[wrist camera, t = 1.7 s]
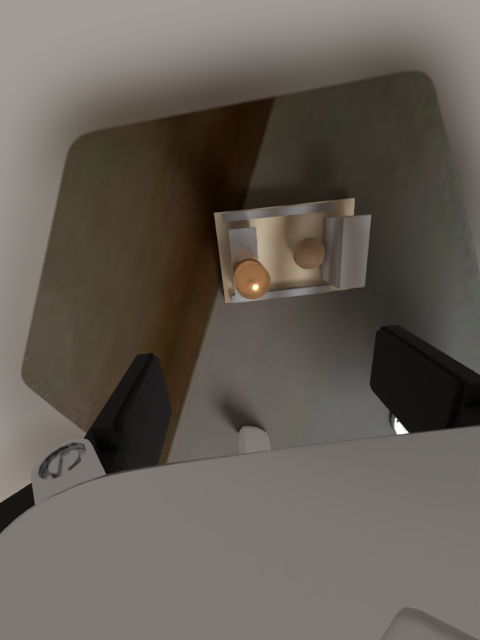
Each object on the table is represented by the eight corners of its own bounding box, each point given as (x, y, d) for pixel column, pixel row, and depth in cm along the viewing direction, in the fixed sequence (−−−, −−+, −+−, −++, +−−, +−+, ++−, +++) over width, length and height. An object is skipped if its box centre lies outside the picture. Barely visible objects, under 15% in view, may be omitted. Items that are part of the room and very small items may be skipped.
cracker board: (349, 198, 33) (382, 193, 26) (344, 286, 37) (371, 301, 30) (214, 213, 33) (211, 211, 26) (225, 299, 37) (225, 318, 30)
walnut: (319, 234, 33) (331, 236, 29) (318, 264, 34) (329, 270, 31) (289, 237, 33) (297, 240, 29) (290, 268, 34) (298, 273, 31)
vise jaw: (251, 226, 32) (268, 229, 19) (255, 286, 35) (273, 324, 22) (227, 228, 32) (229, 233, 19) (234, 288, 35) (239, 327, 22)
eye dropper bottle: (253, 418, 46) (262, 481, 35) (270, 435, 48) (284, 501, 37) (234, 429, 47) (238, 495, 36) (252, 446, 49) (260, 513, 38)
